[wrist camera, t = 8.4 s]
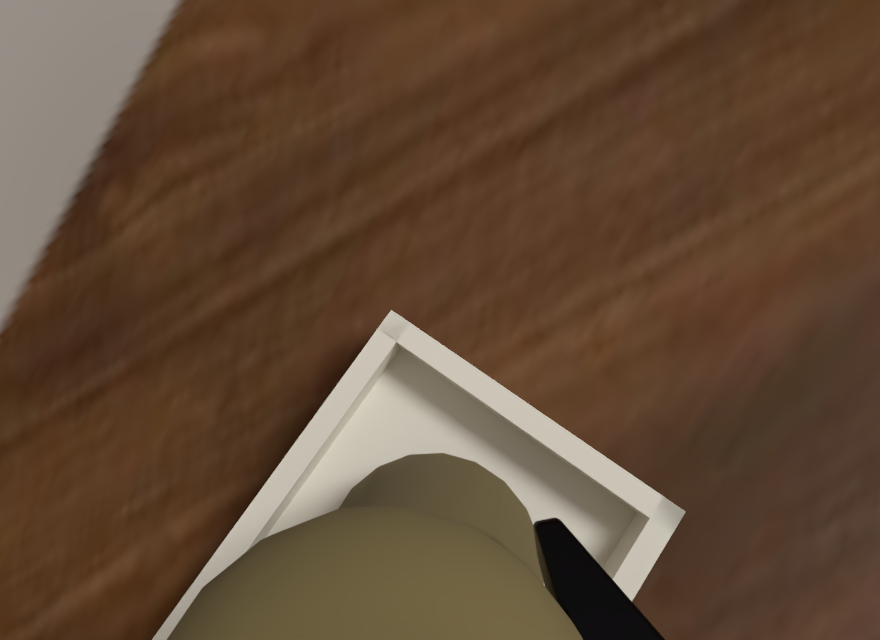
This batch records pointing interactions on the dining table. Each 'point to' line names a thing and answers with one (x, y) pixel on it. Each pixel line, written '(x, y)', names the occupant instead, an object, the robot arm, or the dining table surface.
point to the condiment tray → (458, 434)
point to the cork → (392, 567)
